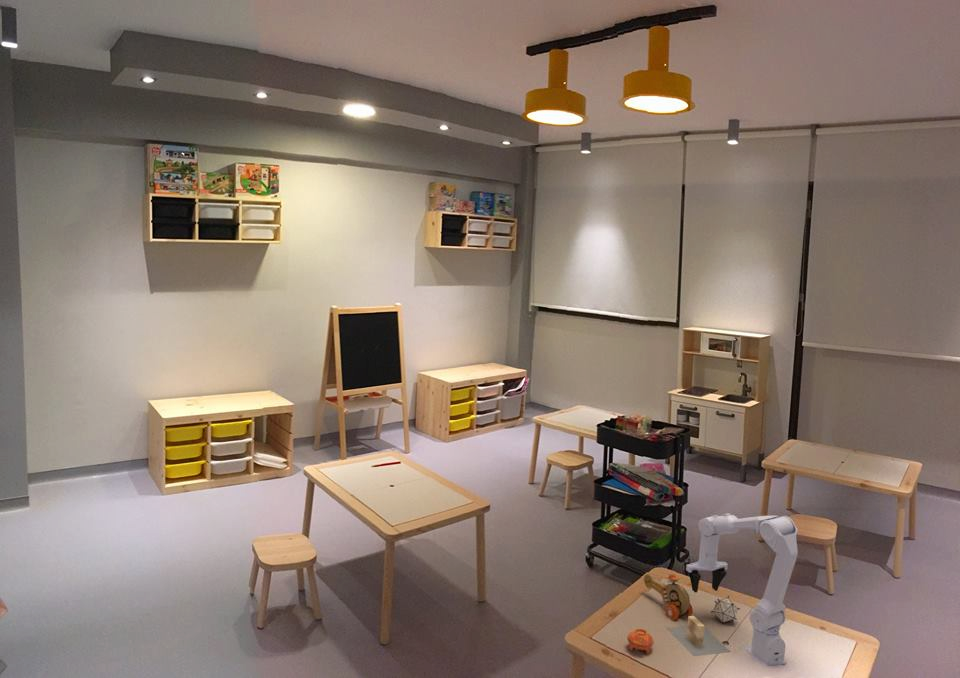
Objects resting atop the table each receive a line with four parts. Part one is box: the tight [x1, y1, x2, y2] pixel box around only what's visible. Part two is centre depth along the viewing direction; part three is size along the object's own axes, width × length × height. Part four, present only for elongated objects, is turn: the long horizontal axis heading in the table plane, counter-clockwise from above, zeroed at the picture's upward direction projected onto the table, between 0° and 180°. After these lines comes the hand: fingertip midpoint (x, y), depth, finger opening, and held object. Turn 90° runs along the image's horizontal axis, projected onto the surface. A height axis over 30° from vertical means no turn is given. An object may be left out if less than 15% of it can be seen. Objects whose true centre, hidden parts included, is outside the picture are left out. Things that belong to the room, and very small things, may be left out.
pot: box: [626, 628, 655, 654], centre depth 214 cm, size 8×8×7 cm
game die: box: [710, 595, 741, 625], centre depth 234 cm, size 9×8×10 cm
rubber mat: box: [666, 625, 731, 657], centre depth 221 cm, size 16×13×1 cm
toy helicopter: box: [643, 573, 693, 621], centre depth 240 cm, size 8×21×14 cm, turn 28°
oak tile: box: [686, 615, 705, 647], centre depth 219 cm, size 6×2×7 cm, turn 16°
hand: (704, 590), depth 234 cm, fingers open, 7 cm apart
